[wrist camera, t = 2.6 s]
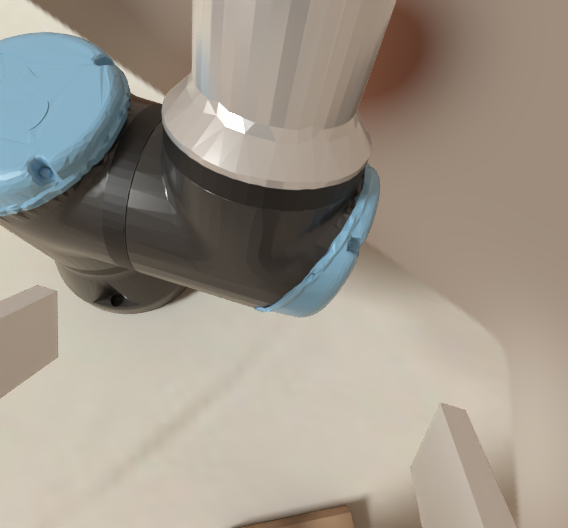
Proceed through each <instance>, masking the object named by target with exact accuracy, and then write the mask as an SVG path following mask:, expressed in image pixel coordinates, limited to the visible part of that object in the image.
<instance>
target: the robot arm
mask: <svg viewBox="0 0 568 528" xmlns="http://www.w3.org/2000/svg"><path fill="white" fill-rule="evenodd" d="M395 3H396V0H192V72H191V73H190V74H189V75H188V76H186V77H185V78H184V79H183V80H182V81H181V82H179V83H178V84H177V85H176V86H175V87H173V88H172V89H171V90H170V91H169V92H168V94H167V95H166V96H165V98H164V101H163V104H160V103H157V102H153V101H150V100H147V99H143V98H140V97H137V96H135V95H133V94H132V93H130V89H129V86H128V81H127V79H126V77H125V75H124V73H123V72H122V71H121V70H120V69H119V68H118V67H117V66H116V65H115V64H114V62H113V61H112V59H111V58H110V57H109V55H108V54H107V53H106V52H104V51H103V50H102V49H100V48H99V47H98V46H96V45H94V44H93V43H91V42H89V41H87V40H85V39H82V38H79V37H76V36H72V35H68V34H60V33H52V32H41V33H29V34H23V35H18V36H14V37H9V38H5V39H2V40H0V225H1V226H3V227H4V228H6V229H7V230H9V231H10V232H12V233H14V234H15V235H17V236H18V237H20V238H21V239H23V240H24V241H26V242H28V243H29V244H31V245H32V246H34V247H35V248H37V249H38V250H40V251H42V252H43V253H45V254H46V255H48V256H49V257H51V258H53V259H54V260H55V263H56V265H57V268H58V270H59V273H60V275H61V277H62V279H63V280H64V282H65V283H66V285H67V286H68V287H69V288H70V289H71V290H72V291H73V292H74V293H75V294H76V295H77V296H78V297H80V298H81V299H83V300H84V301H86V302H88V303H90V304H92V305H93V306H95V307H97V308H100V309H102V310H105V311H109V312H113V313H120V314H134V313H142V312H146V311H150V310H153V309H156V308H158V307H160V306H163V305H165V304H166V303H168V302H170V301H171V300H173V299H174V298H175V297H177V296H178V295H179V294H180V293H181V292H182V291H183V290H184V289H185V288H186V287H189V288H192V289H195V290H198V291H201V292H205V293H208V294H211V295H214V296H217V297H221V298H224V299H227V300H230V301H234V302H237V303H240V304H243V305H246V306H250V307H253V308H255V310H258V311H261V312H271V311H273V312H277V313H281V314H286V315H290V316H294V317H307V316H311V315H314V314H316V313H318V312H319V311H321V310H322V309H323V308H325V307H326V306H327V305H328V304H329V303H330V301H331V300H332V299H333V298H334V297H335V296H336V294H337V293H338V292H339V290H340V289H341V287H342V286H343V284H344V283H345V281H346V280H347V278H348V276H349V275H350V273H351V271H352V269H353V267H354V265H355V263H356V261H357V259H358V254H359V247H360V246H361V245H362V243H363V242H364V241H365V240H366V238H367V235H368V233H369V231H370V228H371V226H372V223H373V220H374V216H375V212H376V209H377V204H378V200H379V192H380V180H379V176H378V174H377V172H376V170H375V169H374V168H372V167H370V166H369V164H368V163H367V162H368V159H369V157H370V153H371V149H372V147H371V146H372V145H371V139H370V136H369V133H368V131H367V129H366V127H365V125H364V123H363V121H362V119H361V117H360V115H359V113H358V111H357V109H358V106H359V103H360V100H361V98H362V95H363V92H364V89H365V86H366V83H367V81H368V78H369V75H370V72H371V70H372V67H373V64H374V61H375V58H376V56H377V53H378V50H379V47H380V44H381V42H382V39H383V36H384V33H385V31H386V28H387V25H388V22H389V20H390V17H391V14H392V11H393V8H394V5H395ZM57 357H58V310H57V291H56V290H53V289H49V288H46V287H42V286H39V285H36V286H34V287H32V288H30V289H27V290H25V291H23V292H20V293H18V294H16V295H14V296H11V297H9V298H7V299H4V300H2V301H0V398H1V397H3V396H4V395H6V394H7V393H8V392H10V391H11V390H13V389H14V388H15V387H17V386H18V385H20V384H21V383H22V382H24V381H25V380H27V379H28V378H29V377H31V376H32V375H34V374H35V373H36V372H38V371H39V370H41V369H42V368H43V367H45V366H46V365H48V364H49V363H50V362H52V361H53V360H55V359H56V358H57ZM411 472H412V477H413V482H414V488H415V493H416V498H417V504H418V509H419V514H420V520H421V525H422V528H517V527H516V525H515V522H514V520H513V518H512V516H511V513H510V511H509V509H508V506H507V504H506V502H505V500H504V497H503V495H502V493H501V490H500V488H499V486H498V483H497V481H496V479H495V477H494V474H493V472H492V470H491V467H490V465H489V463H488V461H487V458H486V456H485V454H484V451H483V449H482V447H481V445H480V442H479V440H478V438H477V435H476V433H475V431H474V429H473V426H472V424H471V422H470V419H469V417H468V415H467V413H466V410H464V409H460V408H457V407H454V406H450V405H447V404H443V403H440V404H439V406H438V408H437V411H436V413H435V415H434V417H433V419H432V422H431V424H430V426H429V428H428V430H427V432H426V435H425V437H424V439H423V441H422V443H421V446H420V448H419V450H418V452H417V454H416V456H415V459H414V461H413V463H412V465H411Z"/></svg>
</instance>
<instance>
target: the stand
mask: <svg viewBox="0 0 568 528" xmlns="http://www.w3.org/2000/svg"><path fill="white" fill-rule="evenodd" d="M240 528H354V525H353V519H352V513H351V511H350V510H349V509H348V507H347V506H346V505H343V506H339V507H334V508H329V509H325V510H320V511H315V512H310V513H306V514H301V515H296V516H292V517H287V518H282V519H278V520H273V521H268V522H263V523H259V524H254V525H249V526H245V527H240Z"/></svg>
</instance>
